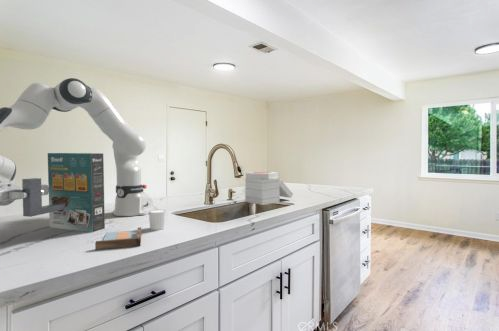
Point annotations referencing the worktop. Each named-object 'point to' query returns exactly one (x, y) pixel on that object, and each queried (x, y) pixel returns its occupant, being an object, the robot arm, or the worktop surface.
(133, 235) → the mat
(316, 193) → the worktop surface
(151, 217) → the white cylinder
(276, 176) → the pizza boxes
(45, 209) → the bracket
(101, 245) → the corner walls
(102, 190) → the cake mix box
